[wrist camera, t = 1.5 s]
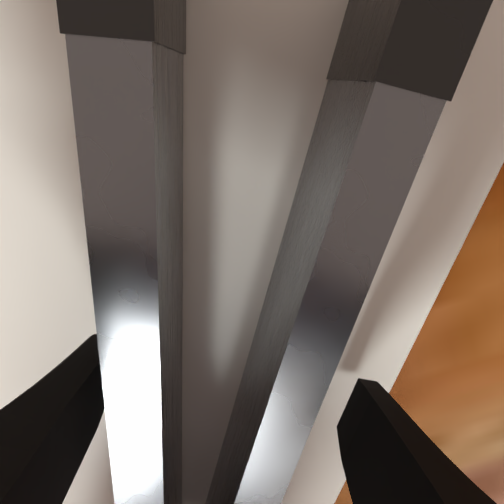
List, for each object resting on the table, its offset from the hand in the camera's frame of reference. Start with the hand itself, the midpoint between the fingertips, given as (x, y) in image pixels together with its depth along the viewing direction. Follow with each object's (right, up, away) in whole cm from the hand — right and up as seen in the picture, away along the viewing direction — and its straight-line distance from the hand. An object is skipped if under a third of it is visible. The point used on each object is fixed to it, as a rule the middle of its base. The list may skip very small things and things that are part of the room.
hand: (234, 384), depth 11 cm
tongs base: (0, 0, +1) cm, 1 cm away
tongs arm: (-2, +2, 0) cm, 3 cm away
